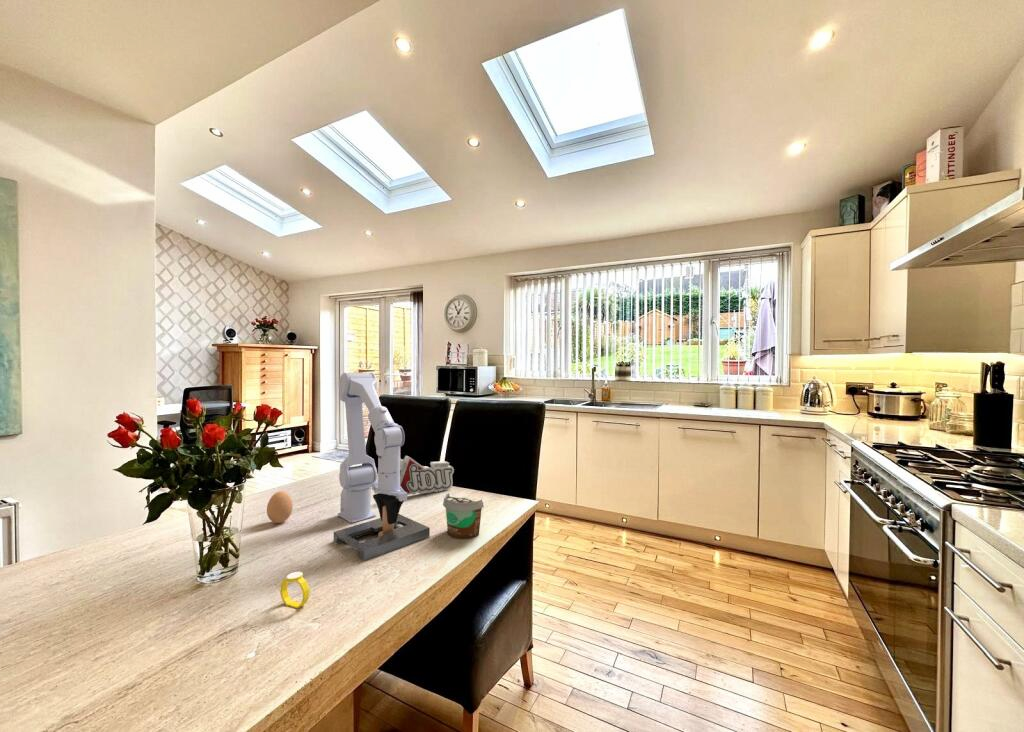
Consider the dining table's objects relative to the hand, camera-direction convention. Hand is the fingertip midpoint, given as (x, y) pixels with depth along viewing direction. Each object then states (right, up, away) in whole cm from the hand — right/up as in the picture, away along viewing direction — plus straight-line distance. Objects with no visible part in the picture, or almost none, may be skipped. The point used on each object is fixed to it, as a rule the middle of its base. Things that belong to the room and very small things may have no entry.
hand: (388, 521), depth 111 cm
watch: (-9, -4, -32) cm, 33 cm away
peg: (0, -4, 0) cm, 4 cm away
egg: (-35, -4, +9) cm, 36 cm away
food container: (+19, -5, +1) cm, 19 cm away
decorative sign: (+1, -5, +37) cm, 38 cm away
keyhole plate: (-1, -4, -1) cm, 4 cm away
